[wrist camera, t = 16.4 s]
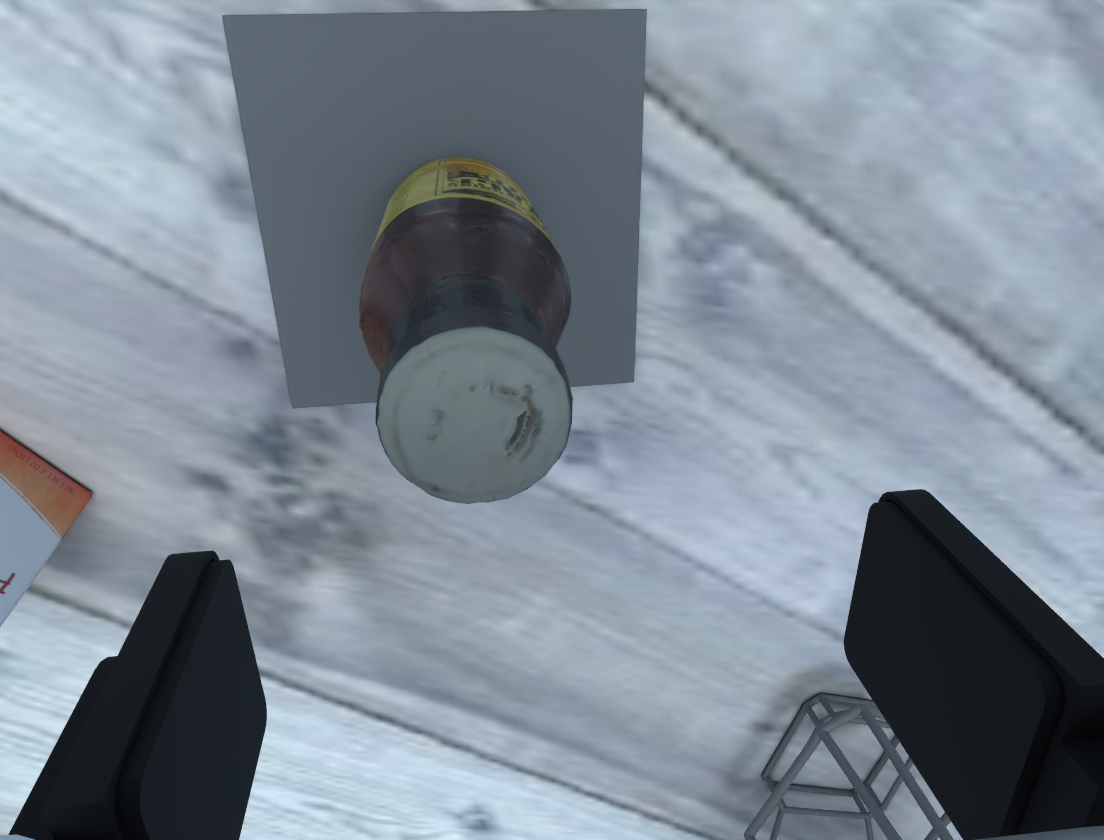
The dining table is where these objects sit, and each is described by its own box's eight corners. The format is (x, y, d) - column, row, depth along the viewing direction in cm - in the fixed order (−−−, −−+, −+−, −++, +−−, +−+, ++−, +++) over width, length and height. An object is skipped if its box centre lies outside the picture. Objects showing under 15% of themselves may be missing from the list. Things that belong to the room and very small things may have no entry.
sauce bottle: (560, 232, 35) (708, 442, 17) (455, 325, 36) (491, 614, 18) (456, 110, 32) (504, 211, 14) (345, 216, 33) (262, 430, 15)
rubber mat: (642, 9, 32) (646, 9, 31) (631, 377, 39) (633, 382, 38) (225, 15, 30) (221, 15, 29) (294, 402, 37) (292, 408, 36)
